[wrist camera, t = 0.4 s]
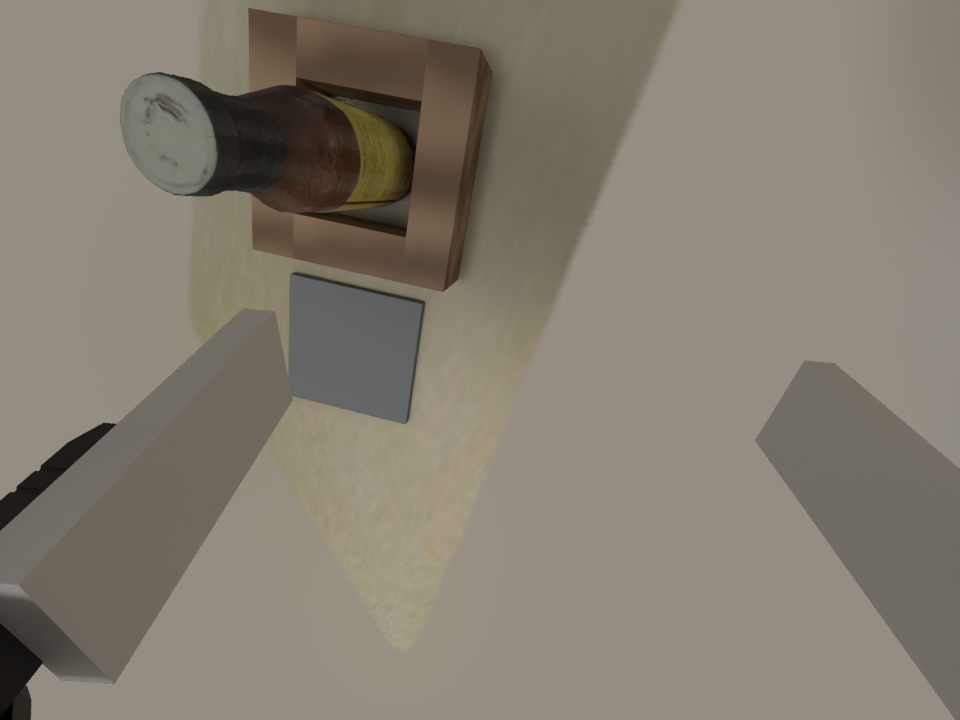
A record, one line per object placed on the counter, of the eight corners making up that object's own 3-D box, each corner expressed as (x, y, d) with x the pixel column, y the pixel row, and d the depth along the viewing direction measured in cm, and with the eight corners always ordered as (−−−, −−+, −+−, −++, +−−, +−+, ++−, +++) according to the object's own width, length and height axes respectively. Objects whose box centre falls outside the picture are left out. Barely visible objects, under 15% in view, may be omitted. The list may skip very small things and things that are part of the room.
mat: (295, 272, 38) (290, 274, 37) (424, 301, 37) (422, 304, 36) (292, 391, 42) (288, 394, 41) (408, 420, 41) (405, 424, 40)
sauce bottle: (392, 102, 32) (173, -32, 13) (435, 181, 33) (290, 158, 15) (327, 151, 34) (57, 94, 15) (370, 223, 35) (171, 250, 17)
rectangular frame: (293, 36, 31) (248, 8, 27) (492, 72, 30) (481, 48, 25) (290, 242, 37) (252, 249, 32) (457, 279, 36) (443, 291, 31)
